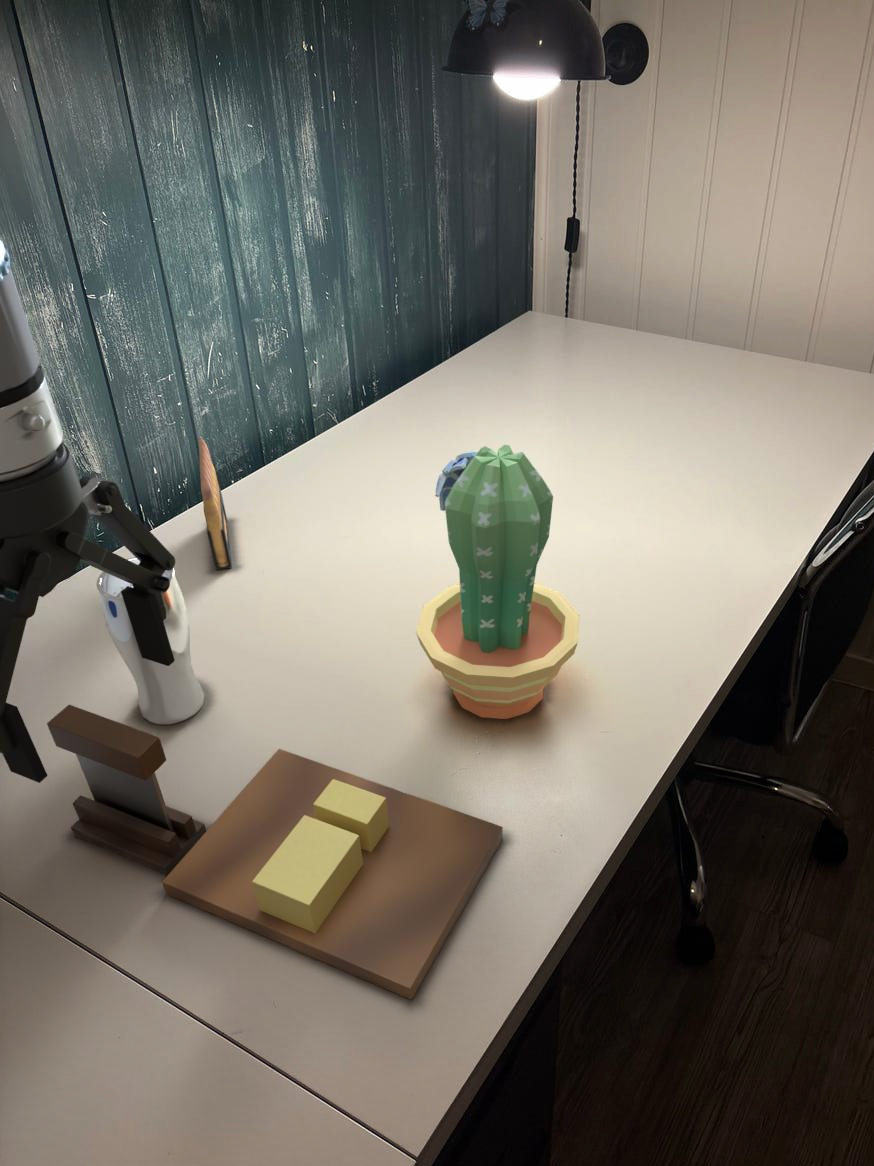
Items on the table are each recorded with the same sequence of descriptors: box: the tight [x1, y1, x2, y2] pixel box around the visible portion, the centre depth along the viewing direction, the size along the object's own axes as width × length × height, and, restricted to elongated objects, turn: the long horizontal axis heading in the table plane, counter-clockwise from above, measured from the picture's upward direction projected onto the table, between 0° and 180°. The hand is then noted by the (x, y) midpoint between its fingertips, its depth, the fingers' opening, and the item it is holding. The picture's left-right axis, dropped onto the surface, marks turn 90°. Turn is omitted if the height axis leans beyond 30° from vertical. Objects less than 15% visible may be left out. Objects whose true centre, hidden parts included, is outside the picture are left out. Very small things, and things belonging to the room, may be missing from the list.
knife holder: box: [70, 794, 207, 876], centre depth 79 cm, size 10×5×3 cm, turn 65°
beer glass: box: [96, 556, 205, 725], centre depth 87 cm, size 7×7×15 cm
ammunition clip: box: [198, 437, 233, 571], centre depth 110 cm, size 11×2×12 cm, turn 14°
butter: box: [252, 815, 363, 933], centre depth 72 cm, size 5×7×4 cm
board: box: [161, 748, 504, 1000], centre depth 76 cm, size 22×16×2 cm
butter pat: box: [313, 779, 389, 852], centre depth 76 cm, size 5×3×4 cm, turn 65°
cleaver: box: [46, 704, 175, 833], centre depth 75 cm, size 9×2×11 cm, turn 65°
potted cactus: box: [415, 444, 581, 720], centre depth 85 cm, size 15×15×25 cm
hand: (98, 713), depth 71 cm, fingers open, 13 cm apart
